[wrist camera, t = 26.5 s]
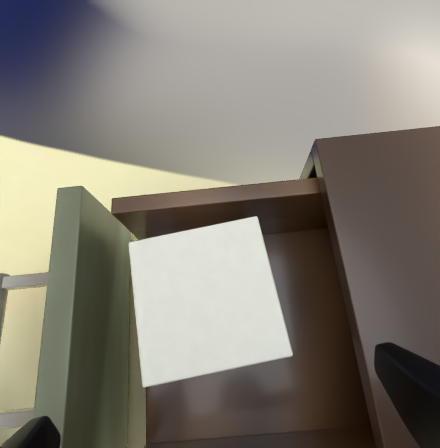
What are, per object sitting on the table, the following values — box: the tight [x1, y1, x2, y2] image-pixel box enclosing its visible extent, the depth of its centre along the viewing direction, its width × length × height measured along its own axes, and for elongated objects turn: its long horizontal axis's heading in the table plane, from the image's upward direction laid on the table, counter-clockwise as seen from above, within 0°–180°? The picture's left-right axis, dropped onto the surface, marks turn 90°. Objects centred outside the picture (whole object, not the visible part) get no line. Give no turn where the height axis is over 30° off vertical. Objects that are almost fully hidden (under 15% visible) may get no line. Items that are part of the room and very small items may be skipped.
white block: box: [128, 216, 293, 388], centre depth 14 cm, size 5×5×7 cm
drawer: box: [0, 178, 376, 448], centre depth 15 cm, size 21×13×7 cm, turn 95°
